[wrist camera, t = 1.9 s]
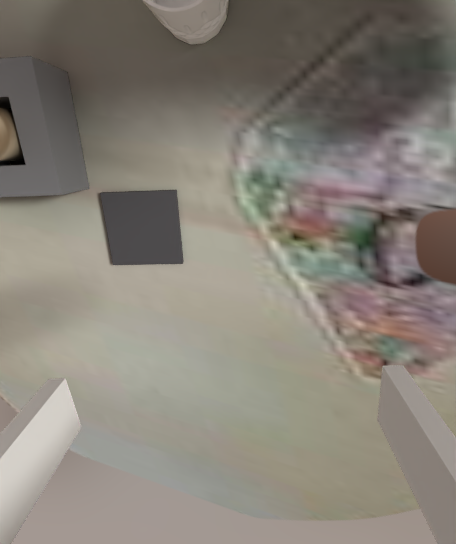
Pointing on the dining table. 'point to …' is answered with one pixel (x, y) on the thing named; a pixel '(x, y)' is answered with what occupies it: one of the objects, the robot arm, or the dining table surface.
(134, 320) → the dining table surface
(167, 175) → the dining table surface
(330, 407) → the dining table surface
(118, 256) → the mat
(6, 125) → the plug
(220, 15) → the white cup
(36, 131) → the socket
